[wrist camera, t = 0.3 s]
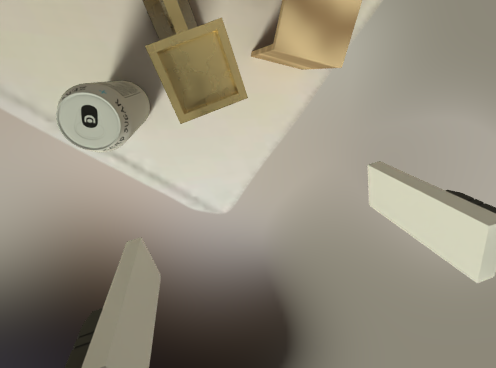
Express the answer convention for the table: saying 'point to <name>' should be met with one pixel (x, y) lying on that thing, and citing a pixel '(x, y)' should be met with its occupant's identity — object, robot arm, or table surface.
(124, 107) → the energy drink can
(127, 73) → the table surface
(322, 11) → the oak cover
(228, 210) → the table surface
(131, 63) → the table surface
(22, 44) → the table surface
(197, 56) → the balance
